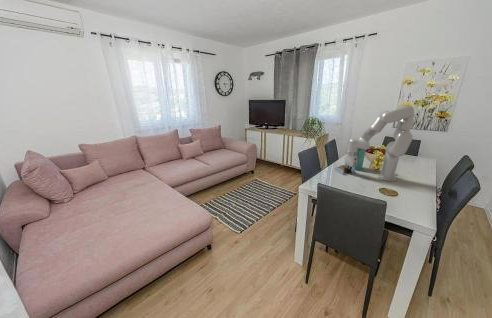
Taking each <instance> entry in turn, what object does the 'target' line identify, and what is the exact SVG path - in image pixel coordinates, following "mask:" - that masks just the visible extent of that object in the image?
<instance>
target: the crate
mask: <svg viewBox="0 0 492 318" xmlns="http://www.w3.org/2000/svg"><path fill="white" fill-rule="evenodd" d="M338 167H339V168H340V169H342V170H343V171H344V174H347V173H346V172H347V166H346V165H345V164H342V165H340V164H339V166H338Z"/></svg>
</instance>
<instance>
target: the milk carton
mask: <svg viewBox="0 0 492 318" xmlns="http://www.w3.org/2000/svg"><path fill="white" fill-rule="evenodd" d="M366 152H367V149H359V148H358V151H357V166H356V167H355V168H354V169H355V171H357V170H358V171H359V170H363V165H364V161H365V155H366Z"/></svg>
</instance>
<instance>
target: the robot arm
mask: <svg viewBox="0 0 492 318" xmlns="http://www.w3.org/2000/svg"><path fill="white" fill-rule="evenodd" d="M414 113H415V109H414V107H412V106H410V105H403V104H402V105H398V106H397V107H396V109H394V110H391V111H389V110H384V111H381V112H380V113H379V115H378V116H377V117H376V118H375V119H374V121H373V122H372V123H371V125H370V126H369V127H368V128H367V129H366V130H365V131H364V132H363V134H362V135H361V136H360V138H359V139H357V138H350V139H349V141H348V145H347V146H348V147H347V151H346V152H347V153H346V155H345V157H344V165H346V166H347V172H346V173H345V174H351V173H352V172H351V169H352V168H353V169H354V168H355V167H356V166H357V151H358V148H359V149H366V150H367V149H369V148H370V146H371V144H370V141H371V139H372V138H373V137H374V136H375V135H378V134H380V133H382V131H383V130H384V128H385V127H386V126H387V125H388V124H391V123H396V122H398V123H397V127H396V128H395V130H394V132H393V135H392V137H393V139H394V140H395V141H390V142H388V144H386V147H385V154H384V159H383V162H382V167H381V170H380V174H378V175H377V178H378V179H380V180H381V181H382V180H383V181H385V182H395V181H396V180H397V178H396V177H398V176H399V173H396V172H397V168H398V164H399V160H400V157H402V156H404V155H405V154H406V153H407V151H408V149H409V147H410V145H411V143H412V141H413V133H411V132H410V131H411V129H412V126H413V125H414V121H415V117H414Z"/></svg>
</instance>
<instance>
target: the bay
mask: <svg viewBox="0 0 492 318" xmlns="http://www.w3.org/2000/svg"><path fill="white" fill-rule="evenodd" d="M339 167H340V166H335V169H334V171H335V172H337V173H339V174H340V175H344V174H345V173H344V171H343V170H342V169H340V168H339ZM351 173H352V174H355V173H356V170H355V169H353V168H352V169H351Z"/></svg>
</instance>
